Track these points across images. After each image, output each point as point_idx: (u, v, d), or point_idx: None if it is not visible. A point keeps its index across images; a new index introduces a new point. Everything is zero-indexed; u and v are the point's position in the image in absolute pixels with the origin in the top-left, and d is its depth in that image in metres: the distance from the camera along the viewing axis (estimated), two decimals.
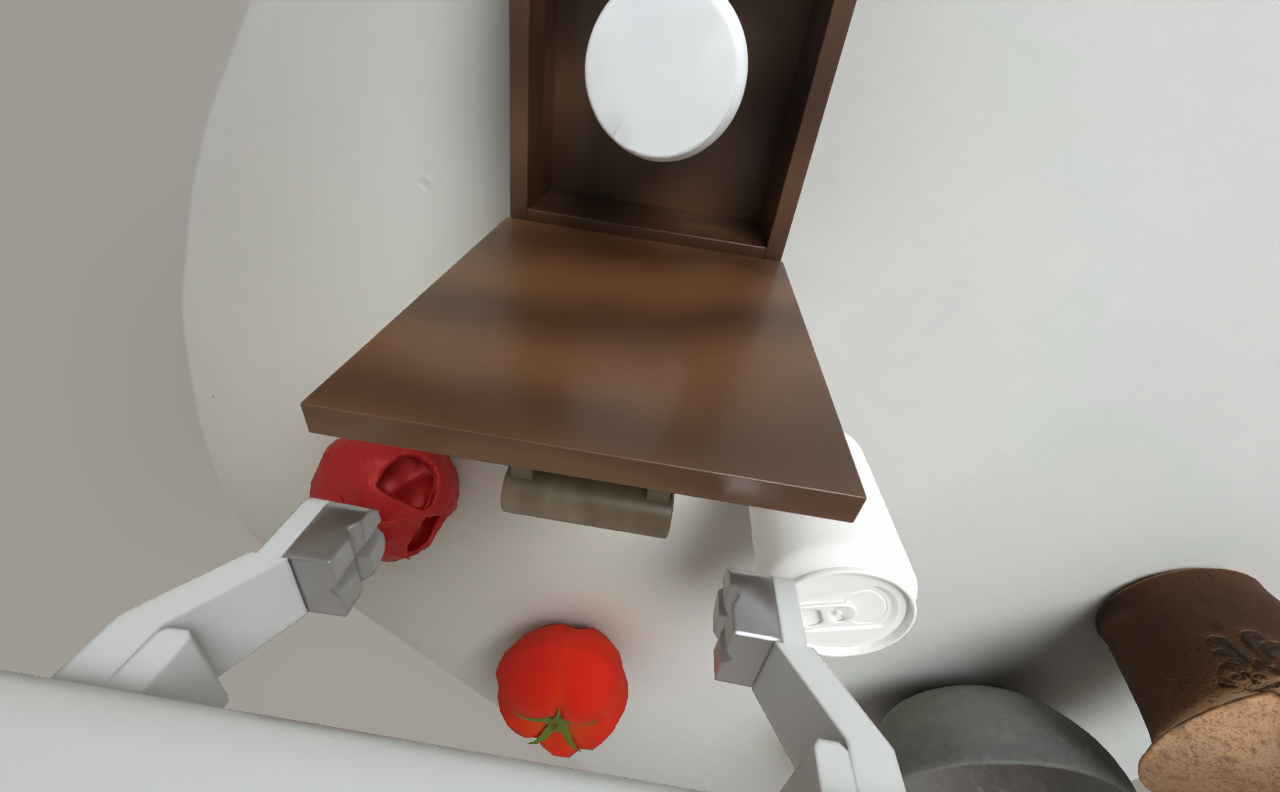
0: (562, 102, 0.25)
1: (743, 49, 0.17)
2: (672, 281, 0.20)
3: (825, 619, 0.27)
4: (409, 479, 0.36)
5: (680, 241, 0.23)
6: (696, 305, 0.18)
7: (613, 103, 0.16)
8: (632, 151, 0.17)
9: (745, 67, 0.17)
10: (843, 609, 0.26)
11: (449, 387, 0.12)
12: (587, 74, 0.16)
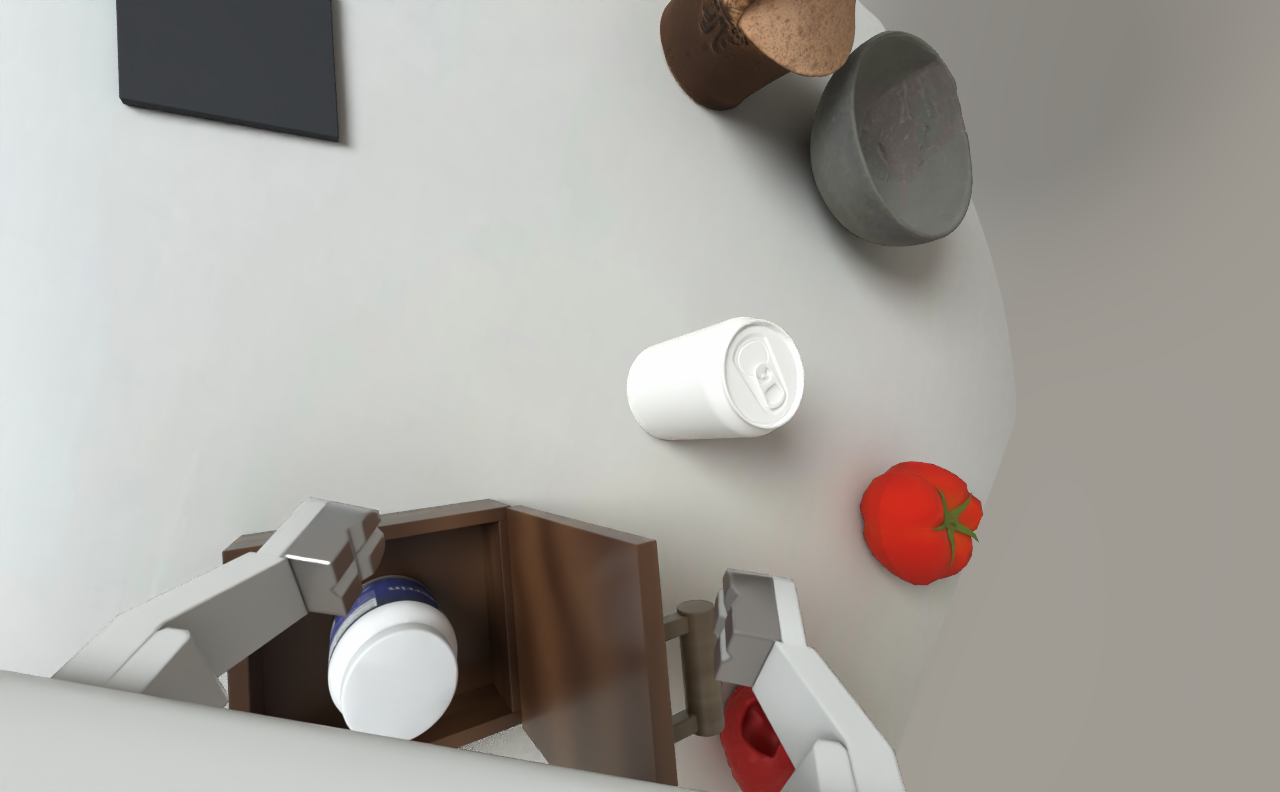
0: None
1: (369, 619, 0.24)
2: (539, 609, 0.26)
3: (771, 383, 0.33)
4: (764, 722, 0.41)
5: (509, 586, 0.30)
6: (551, 599, 0.25)
7: (428, 711, 0.23)
8: (456, 683, 0.23)
9: (380, 611, 0.24)
10: (759, 374, 0.33)
11: None
12: (413, 737, 0.22)
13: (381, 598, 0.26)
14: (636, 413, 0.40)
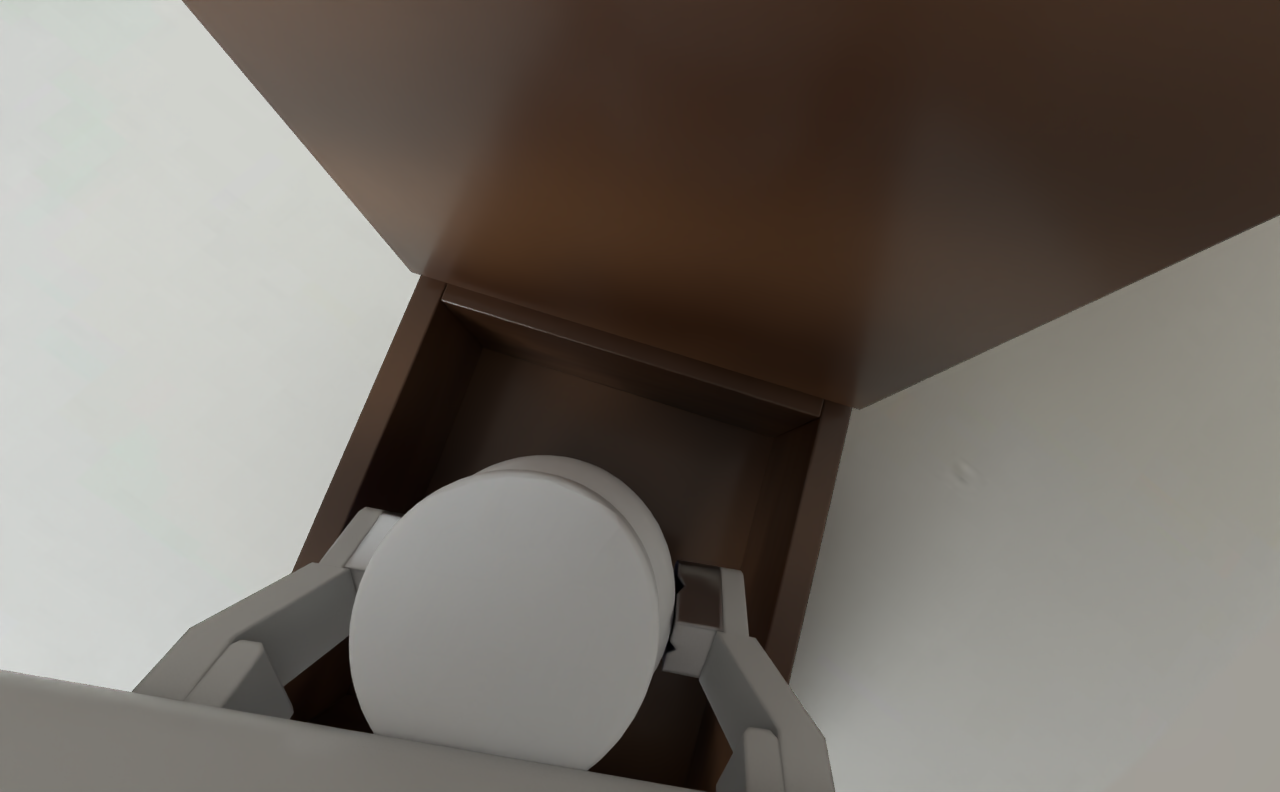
0: (733, 547, 0.17)
1: None
2: (560, 239, 0.10)
3: None
4: None
5: (575, 329, 0.14)
6: (488, 158, 0.08)
7: (609, 591, 0.08)
8: (588, 495, 0.08)
9: None
10: None
11: None
12: (650, 656, 0.07)
13: None
14: None
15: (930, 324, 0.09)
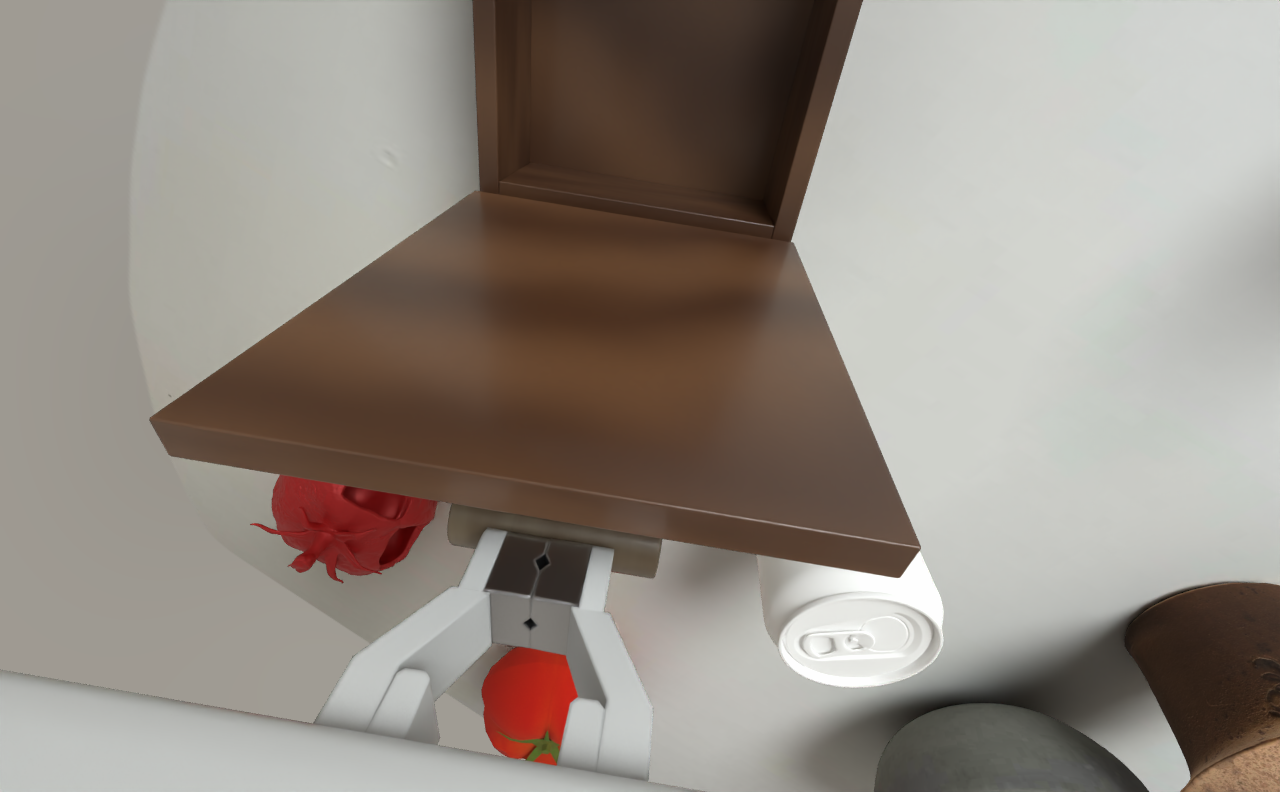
0: (540, 60, 0.22)
1: None
2: (664, 262, 0.16)
3: (839, 647, 0.24)
4: None
5: (675, 218, 0.20)
6: (692, 290, 0.15)
7: None
8: None
9: None
10: (859, 637, 0.23)
11: (363, 394, 0.09)
12: None
13: None
14: None
15: (451, 238, 0.16)
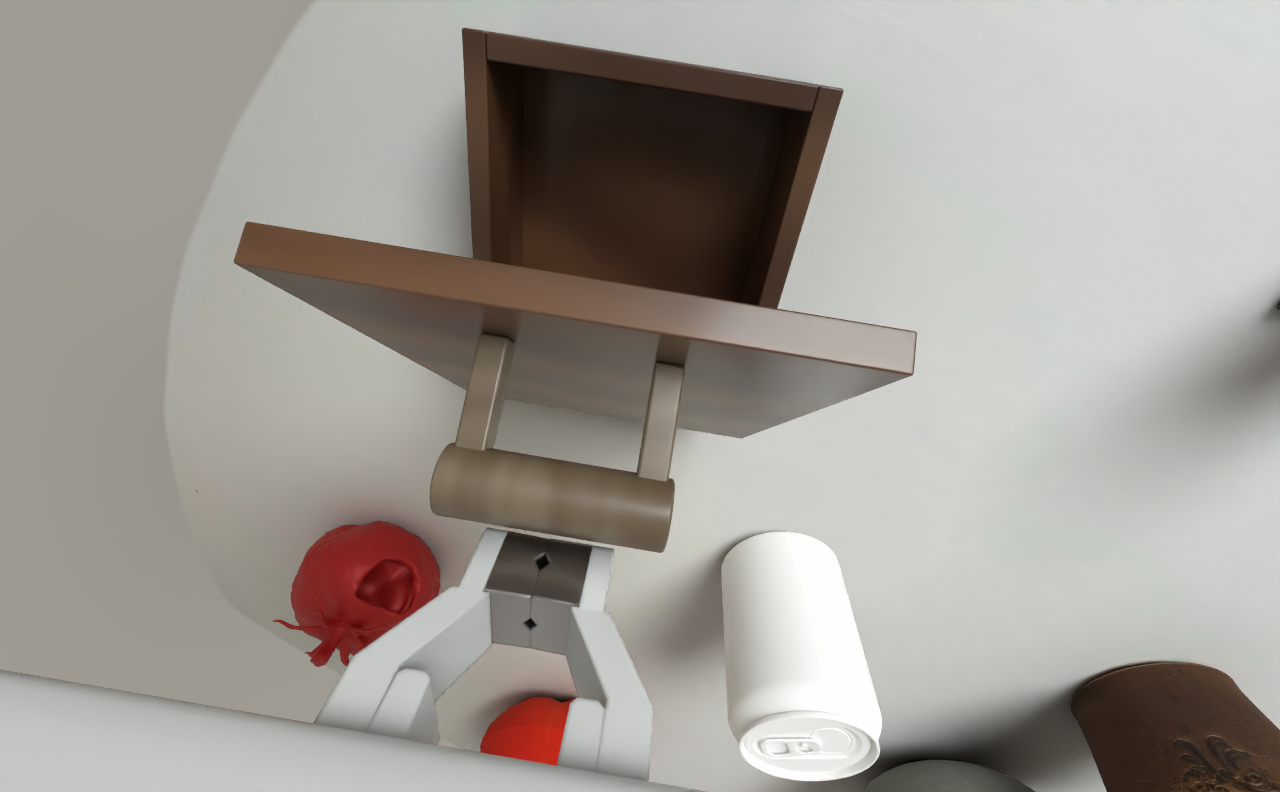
0: (531, 253, 0.25)
1: None
2: None
3: (792, 750, 0.27)
4: (389, 578, 0.37)
5: None
6: None
7: None
8: None
9: None
10: (809, 743, 0.27)
11: None
12: None
13: None
14: (771, 539, 0.34)
15: None
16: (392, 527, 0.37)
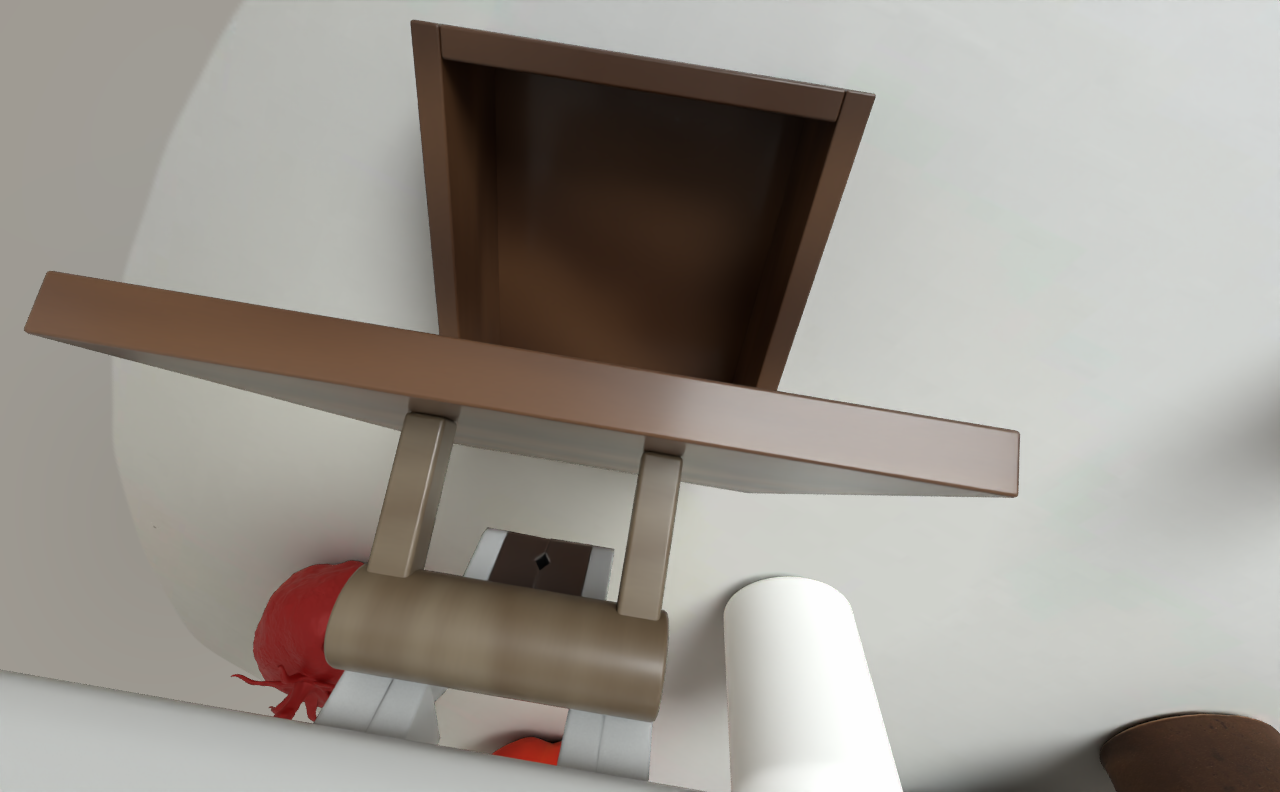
0: (508, 278, 0.22)
1: None
2: None
3: None
4: None
5: None
6: None
7: None
8: None
9: None
10: None
11: None
12: None
13: None
14: (778, 585, 0.31)
15: None
16: None
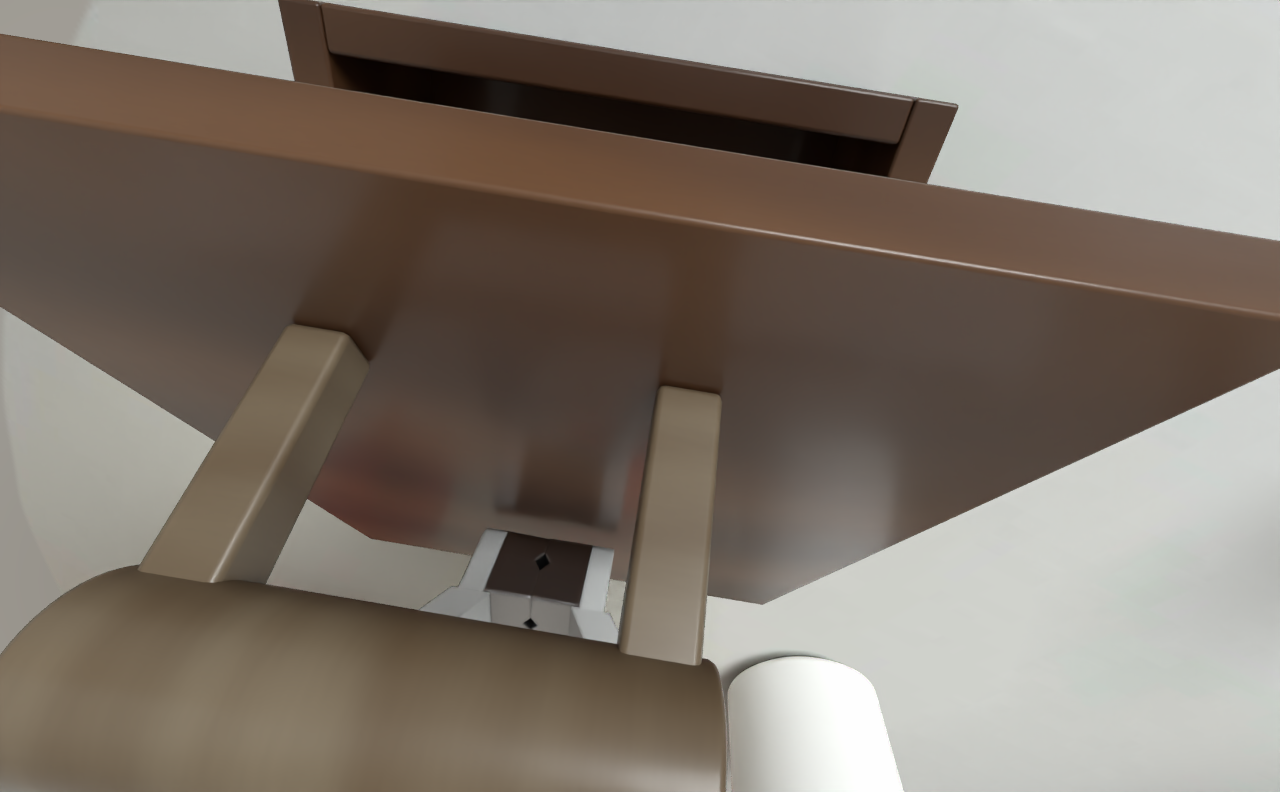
0: None
1: None
2: None
3: None
4: None
5: None
6: None
7: None
8: None
9: None
10: None
11: None
12: None
13: None
14: (791, 669, 0.26)
15: None
16: None
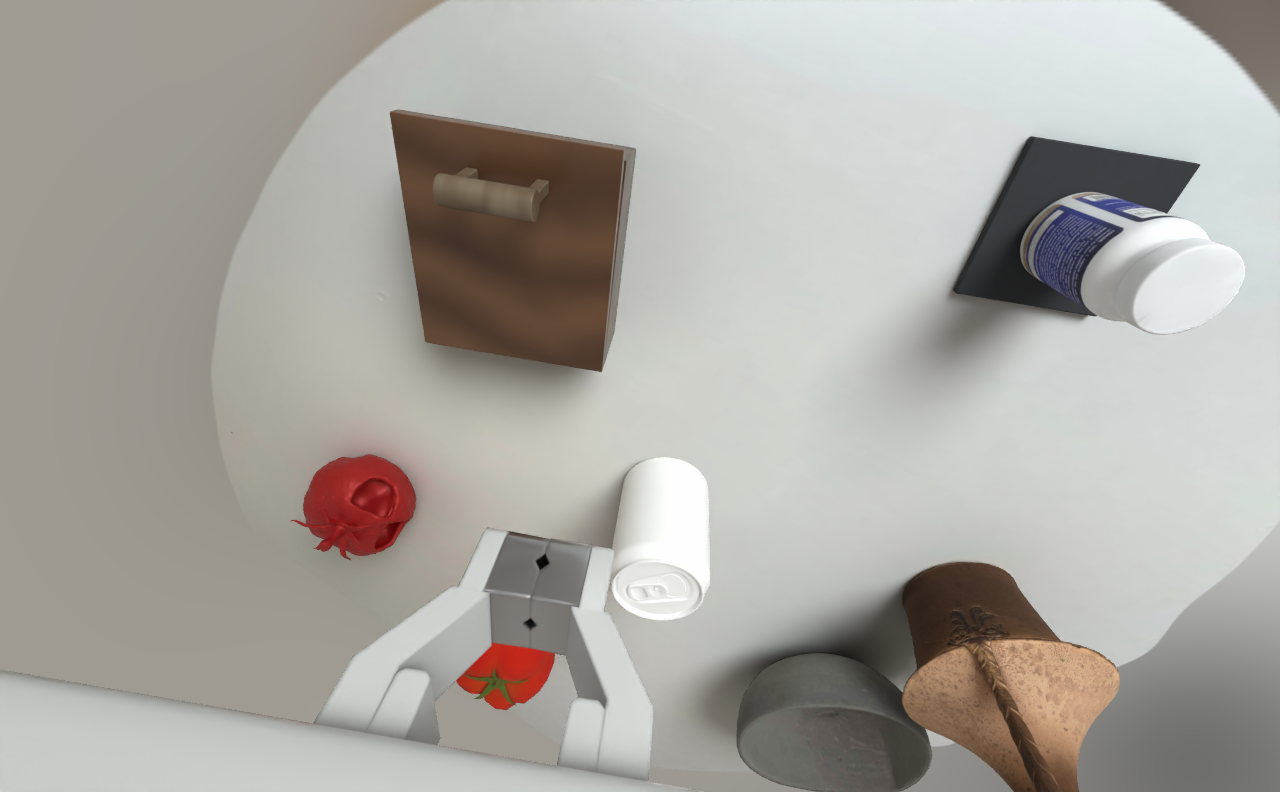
0: None
1: None
2: None
3: (648, 594, 0.40)
4: (376, 495, 0.49)
5: None
6: None
7: (1147, 306, 0.26)
8: (1145, 330, 0.26)
9: None
10: (658, 587, 0.39)
11: None
12: (1139, 291, 0.25)
13: None
14: (653, 462, 0.46)
15: None
16: (378, 458, 0.50)
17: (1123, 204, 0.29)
